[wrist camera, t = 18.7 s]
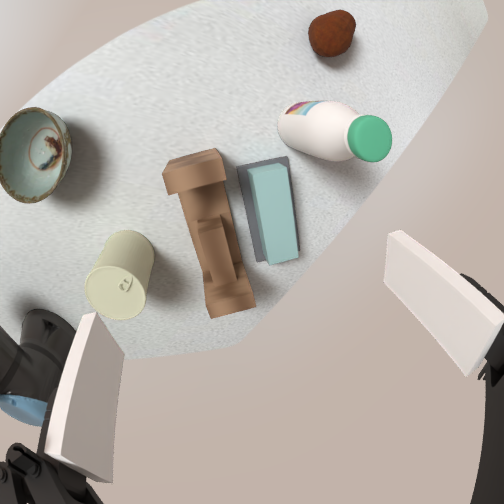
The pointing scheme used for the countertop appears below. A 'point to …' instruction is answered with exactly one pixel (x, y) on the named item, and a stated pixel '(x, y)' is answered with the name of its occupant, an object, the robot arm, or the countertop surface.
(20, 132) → the bowl
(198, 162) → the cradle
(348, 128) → the milk bottle
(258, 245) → the mat
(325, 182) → the countertop surface
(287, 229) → the slab
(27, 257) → the countertop surface
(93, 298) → the can
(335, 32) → the potato
